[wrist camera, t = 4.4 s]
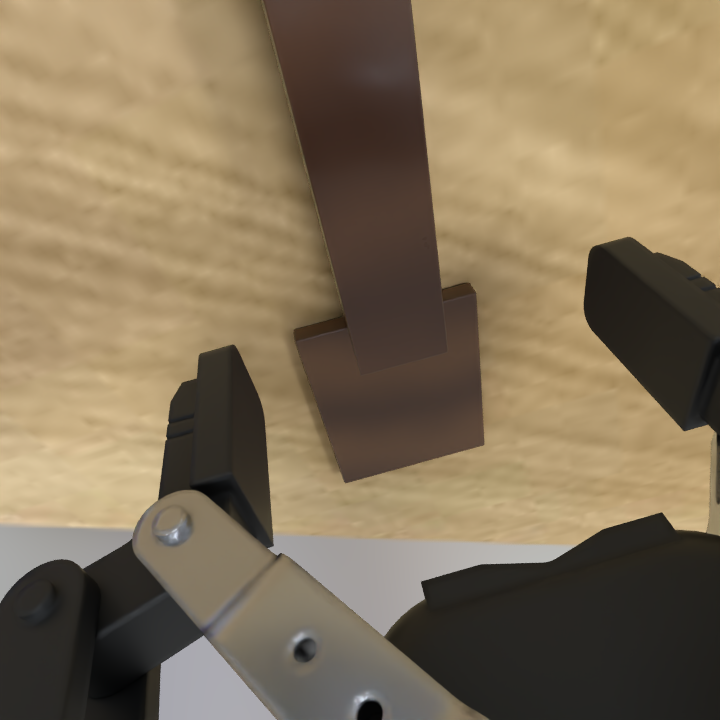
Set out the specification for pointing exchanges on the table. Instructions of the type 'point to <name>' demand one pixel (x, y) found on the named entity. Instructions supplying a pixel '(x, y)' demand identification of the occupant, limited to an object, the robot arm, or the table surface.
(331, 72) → the spatula
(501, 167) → the table surface
